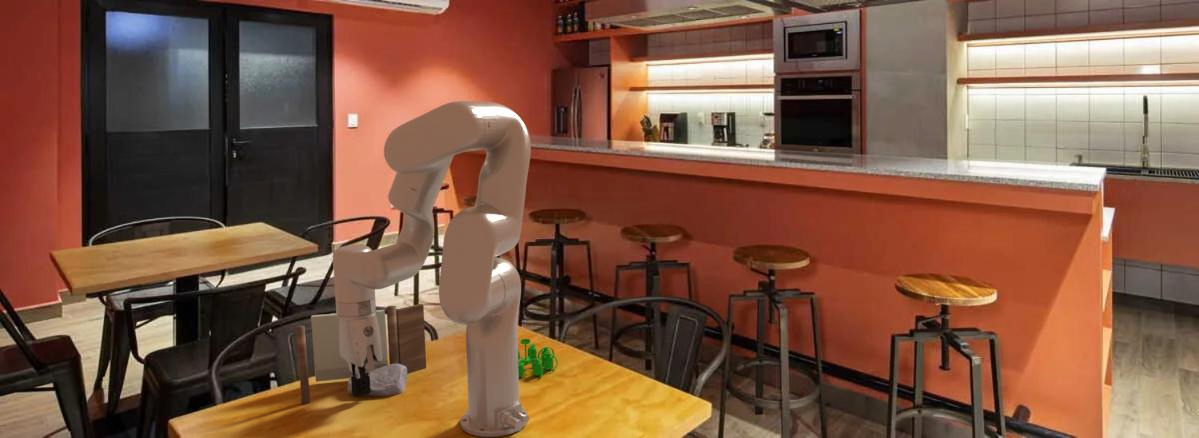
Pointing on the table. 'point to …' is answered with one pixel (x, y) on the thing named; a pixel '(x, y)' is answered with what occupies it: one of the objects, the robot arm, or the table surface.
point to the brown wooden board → (402, 341)
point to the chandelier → (536, 359)
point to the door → (337, 347)
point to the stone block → (386, 380)
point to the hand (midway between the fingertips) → (361, 394)
